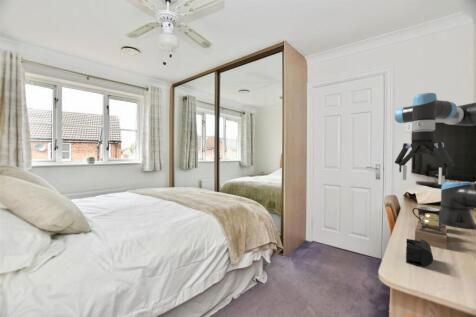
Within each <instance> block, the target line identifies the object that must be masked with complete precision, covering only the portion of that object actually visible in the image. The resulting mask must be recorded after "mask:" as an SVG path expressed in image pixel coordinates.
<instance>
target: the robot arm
mask: <svg viewBox="0 0 476 317" xmlns="http://www.w3.org/2000/svg"><path fill="white" fill-rule="evenodd" d="M437 97H438V96H437V94H436V92H435V93H434V92H424V93H420V94H416V95H414V96H413V98H412V105H410V106H403V107H400V108H397V109H396V110H395V112H394V113H393V114H394V121H395V122H396V123H398V124H406V123H411V131H412V132H411V143H406V142H405V143H403V145H402V149H401V150H400V152H399V153H398V155H397V157H396V158H395V161H394V164H396V165H398V166H399V168H398V169H399V170H398V172H399V173H400V181H407V175H408V174H407V173H408V172H407V171H408V170H407V169H408V166H407V165H406V164H407V163H408V162H409V161H410V160H411V159H412V158H413V157H414V156H415V155H417V154H424V155H425V154H428V155H430V156H431V157H432V158H433V159H434V160H435V161H436V163H438V165H439V166H440V167H438V185H441V187H440V188H441V189H440V191H441V192H440V209H439V210H440V211H439V222H440V223H442V225H446V226H450V227H453V228H460V229H474V228H475V227H476V226H475V225H476V224H475V223H476V222H475V220H474V217H473V215H472V213H471V209H476V181H474V183H472V182H470V181H445V180H446V179H445V178H446V176H447V177H448V175H449V168H451V167H455V165H456V164H455V162H454V161H453V158H452V157H451V155H450V153H448V150H447V149H446V143H445V142H442V141H441V142H436V143H435V141H436V139H435V138H436V132H435V130H436V123H439V124H440V123H441V124H442V123H443V124H446V125H449V126H450V125H452V126H465V127H467V126H469V127H473V126H476V102H471V103H466V104H462V105H457V104H455V103H454V102H452V101H449V100H439V99H438V98H437ZM435 147H436V148H437V149H438V151H439V153H440V154H441V156H442V157H441V156H440V155H439V154H438V153H437V151H436V150H434V149H435ZM410 148H411V150H410V151H409V149H410ZM408 151H409V152H408Z"/></svg>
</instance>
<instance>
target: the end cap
mask: <svg viewBox="0 0 476 317" xmlns="http://www.w3.org/2000/svg"><path fill="white" fill-rule="evenodd" d="M431 247H432V246H430V245H429V244H428V243H427V242H426V241H425V240H422V239H420V241H416V240H415V239H410V238H406V248H405V251H406V252H405V263H406V264H409V265H413V266H416V267H422V268H424V267H428V266H430V265H431V264H432V263H433V262H434V256H433V252H432V248H431Z"/></svg>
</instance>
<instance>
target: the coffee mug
mask: <svg viewBox="0 0 476 317" xmlns="http://www.w3.org/2000/svg"><path fill="white" fill-rule="evenodd" d="M415 210H417V212H418V213H417V214H418V215H417V214H416V213H415V212H414V211H415ZM439 211H440V209H438V208H436V207H432V206H431V207H429V206H417V207H413V208H412V213H413V215H414V216H415V217H416V218H417V219H418V220H419V221H422V220H424V218H425V213H430V214H436V215H439Z"/></svg>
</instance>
